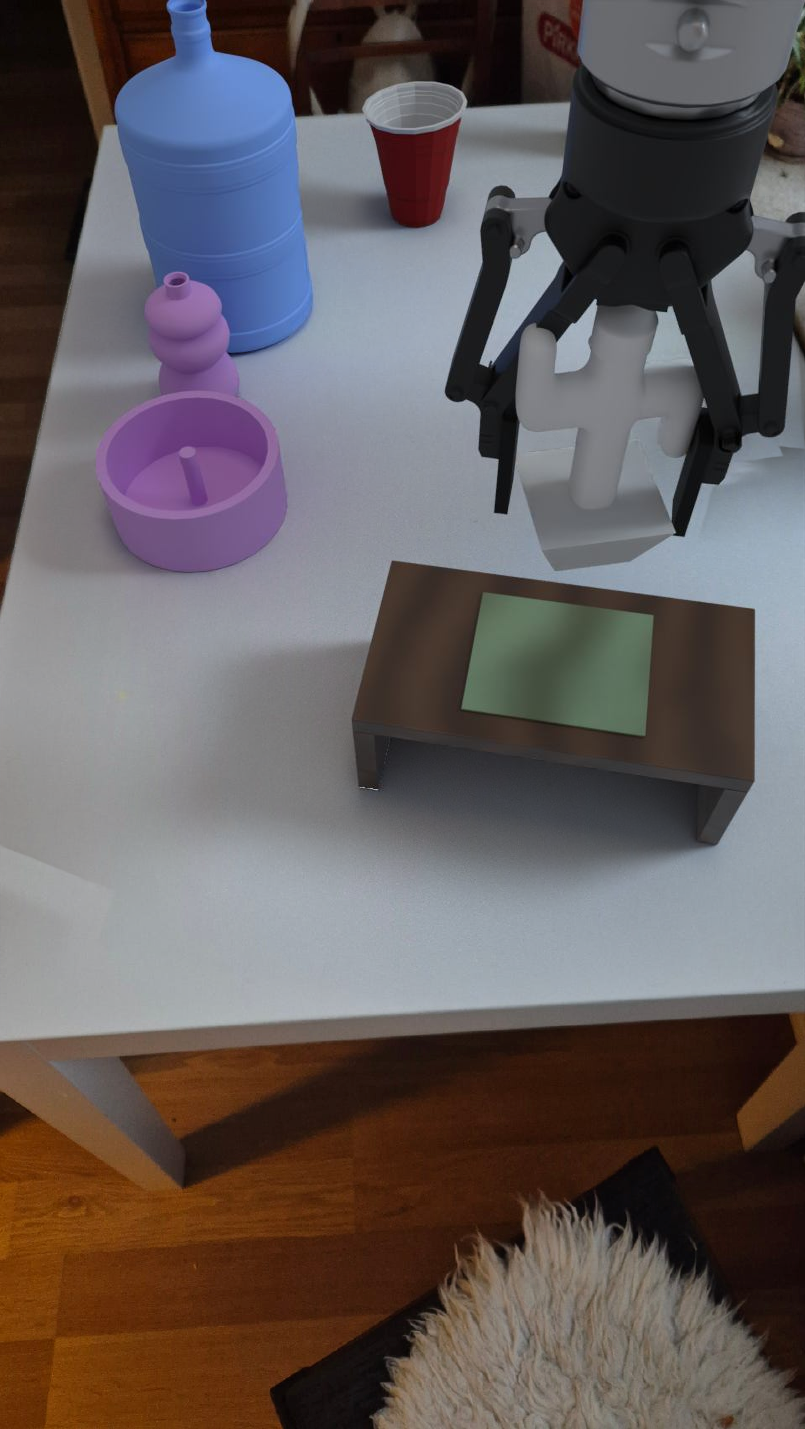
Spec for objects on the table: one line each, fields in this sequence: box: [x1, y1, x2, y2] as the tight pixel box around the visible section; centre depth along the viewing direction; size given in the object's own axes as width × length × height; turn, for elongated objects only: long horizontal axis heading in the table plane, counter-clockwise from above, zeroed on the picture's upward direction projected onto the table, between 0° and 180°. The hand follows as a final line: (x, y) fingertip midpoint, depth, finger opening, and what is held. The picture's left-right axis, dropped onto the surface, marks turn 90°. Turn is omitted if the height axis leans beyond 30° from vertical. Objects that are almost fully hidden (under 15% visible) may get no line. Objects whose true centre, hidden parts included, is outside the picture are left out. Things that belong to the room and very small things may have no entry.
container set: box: [94, 272, 288, 573], centre depth 87 cm, size 25×15×13 cm, turn 5°
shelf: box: [351, 559, 756, 846], centre depth 72 cm, size 26×14×10 cm, turn 79°
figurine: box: [515, 305, 705, 572], centre depth 52 cm, size 7×9×15 cm
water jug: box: [114, 0, 314, 354], centre depth 93 cm, size 16×16×28 cm
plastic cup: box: [361, 81, 468, 228], centre depth 108 cm, size 11×11×12 cm
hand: (590, 507), depth 56 cm, fingers closed on figurine, 9 cm apart
